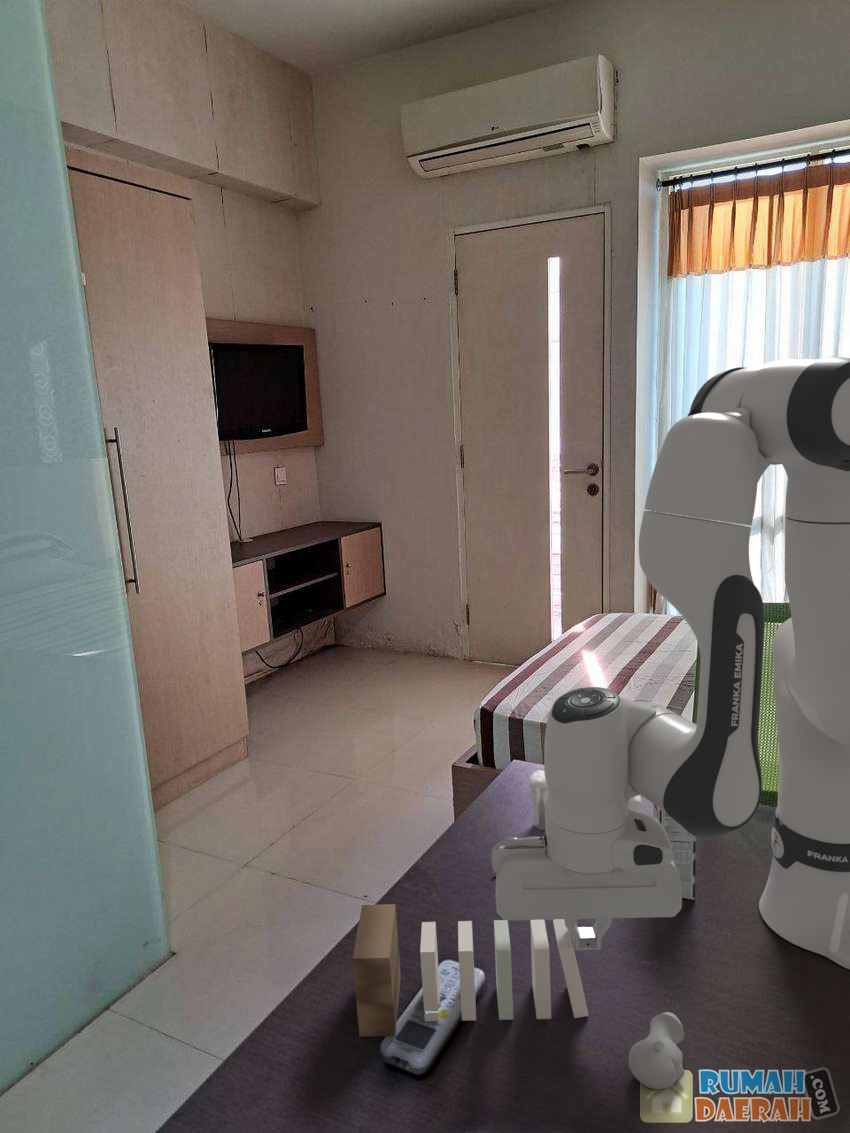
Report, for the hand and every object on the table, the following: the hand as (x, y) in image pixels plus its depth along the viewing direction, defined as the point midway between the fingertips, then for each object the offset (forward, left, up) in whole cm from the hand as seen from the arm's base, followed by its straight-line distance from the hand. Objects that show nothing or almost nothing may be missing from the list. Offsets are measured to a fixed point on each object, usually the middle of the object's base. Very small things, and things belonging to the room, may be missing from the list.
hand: (586, 946), depth 88 cm
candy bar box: (-16, -23, -8) cm, 29 cm away
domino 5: (+1, 0, -7) cm, 7 cm away
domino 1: (+18, 0, -7) cm, 19 cm away
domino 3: (+9, 0, -7) cm, 12 cm away
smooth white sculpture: (-6, +9, -8) cm, 13 cm away
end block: (+24, 0, -7) cm, 25 cm away
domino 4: (+5, 0, -7) cm, 9 cm away
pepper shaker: (-12, -35, -8) cm, 38 cm away
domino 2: (+14, 0, -7) cm, 15 cm away
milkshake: (+1, -37, -8) cm, 38 cm away
